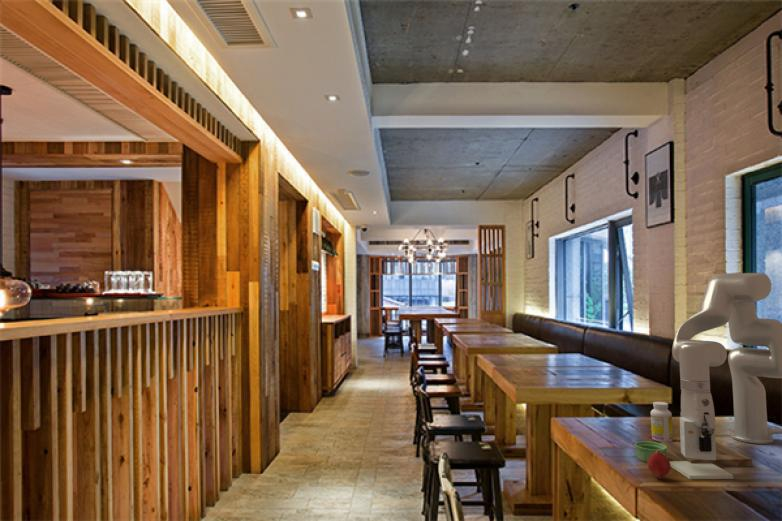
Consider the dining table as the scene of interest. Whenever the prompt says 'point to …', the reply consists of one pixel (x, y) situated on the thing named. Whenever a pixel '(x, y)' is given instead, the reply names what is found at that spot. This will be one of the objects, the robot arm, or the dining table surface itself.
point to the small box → (694, 441)
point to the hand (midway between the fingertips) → (697, 446)
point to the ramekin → (648, 449)
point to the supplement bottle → (661, 422)
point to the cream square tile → (700, 470)
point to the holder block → (723, 458)
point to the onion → (659, 464)
